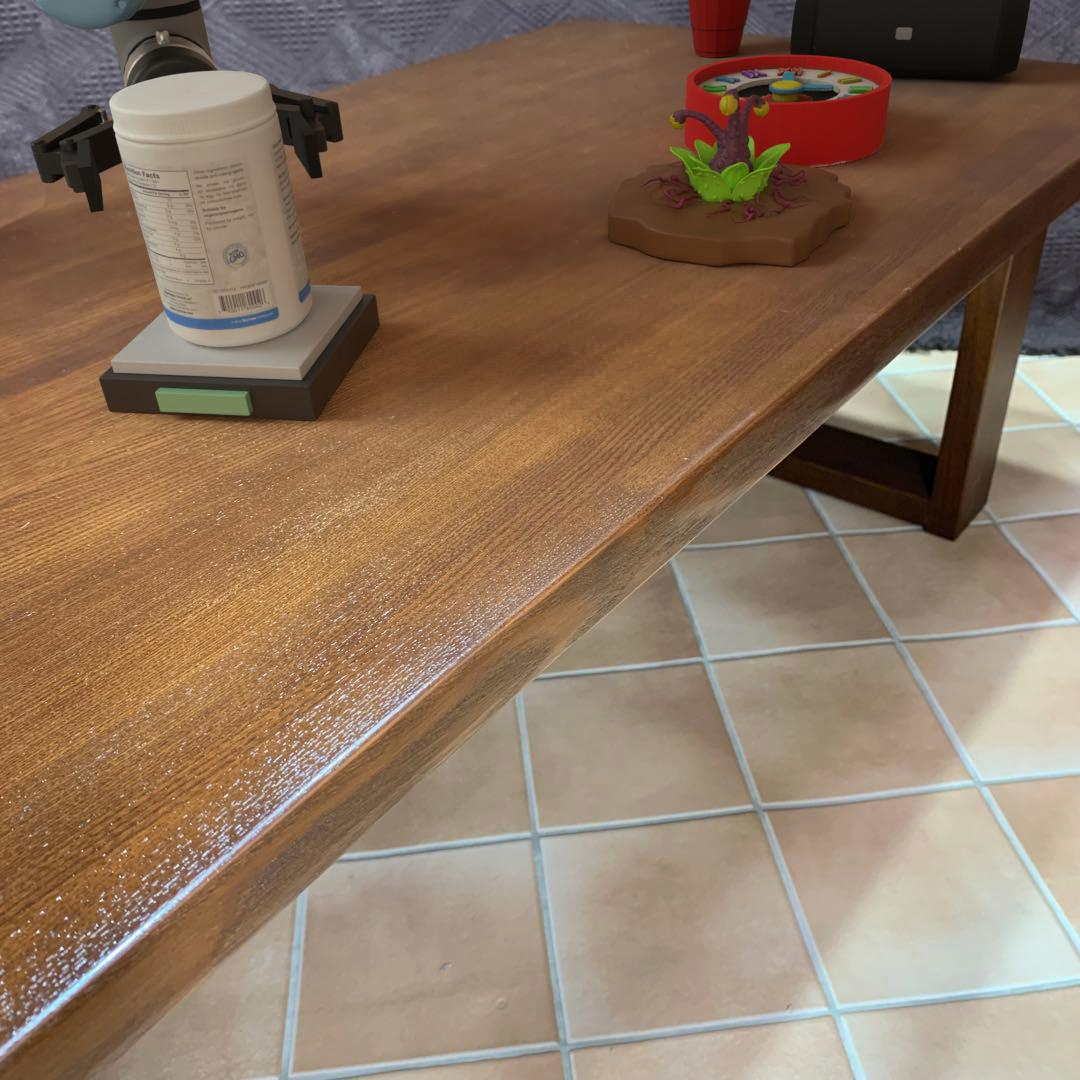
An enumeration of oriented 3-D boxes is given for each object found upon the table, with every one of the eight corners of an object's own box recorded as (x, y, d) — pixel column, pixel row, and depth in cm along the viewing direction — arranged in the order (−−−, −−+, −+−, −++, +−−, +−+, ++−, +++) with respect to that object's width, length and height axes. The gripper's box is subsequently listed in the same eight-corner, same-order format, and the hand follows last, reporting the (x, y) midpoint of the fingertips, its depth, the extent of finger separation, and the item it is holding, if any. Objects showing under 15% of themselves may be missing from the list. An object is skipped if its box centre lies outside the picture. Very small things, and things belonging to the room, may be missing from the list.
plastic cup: (738, 65, 137) (744, -41, 130) (662, 58, 142) (664, -45, 135) (772, 47, 144) (780, -54, 137) (699, 41, 149) (703, -57, 142)
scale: (104, 416, 69) (89, 369, 67) (200, 319, 80) (189, 277, 78) (312, 426, 66) (303, 378, 65) (380, 325, 78) (373, 281, 76)
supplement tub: (234, 283, 77) (185, 64, 68) (343, 303, 73) (306, 73, 65) (137, 339, 70) (69, 103, 61) (252, 363, 66) (197, 116, 58)
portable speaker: (785, 81, 129) (793, -11, 123) (798, 62, 137) (806, -26, 131) (1013, 89, 122) (1033, -9, 116) (1014, 68, 129) (1032, -25, 123)
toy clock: (674, 103, 101) (697, 54, 117) (672, 165, 105) (695, 110, 120) (895, 105, 97) (889, 54, 113) (886, 170, 101) (881, 112, 116)
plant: (575, 253, 88) (571, 109, 81) (646, 178, 102) (647, 51, 95) (824, 278, 81) (842, 124, 74) (862, 195, 96) (880, 60, 89)
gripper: (-12, 65, 78) (-32, 139, 62) (329, 25, 84) (392, 83, 68) (22, 170, 82) (12, 265, 66) (343, 124, 89) (406, 201, 72)
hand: (205, 173), depth 67 cm, fingers open, 13 cm apart
